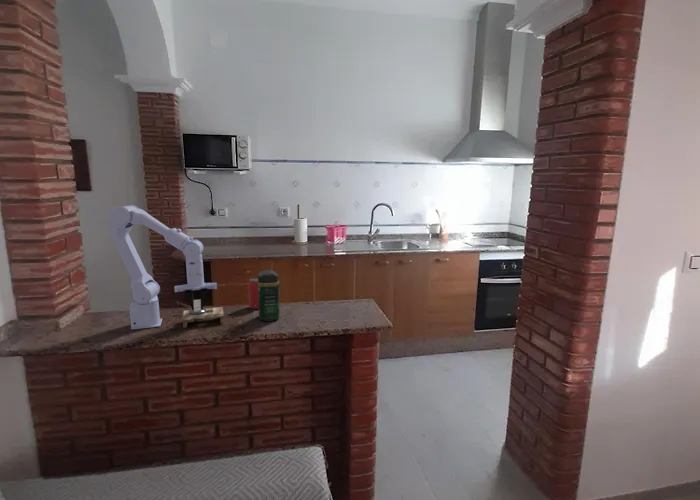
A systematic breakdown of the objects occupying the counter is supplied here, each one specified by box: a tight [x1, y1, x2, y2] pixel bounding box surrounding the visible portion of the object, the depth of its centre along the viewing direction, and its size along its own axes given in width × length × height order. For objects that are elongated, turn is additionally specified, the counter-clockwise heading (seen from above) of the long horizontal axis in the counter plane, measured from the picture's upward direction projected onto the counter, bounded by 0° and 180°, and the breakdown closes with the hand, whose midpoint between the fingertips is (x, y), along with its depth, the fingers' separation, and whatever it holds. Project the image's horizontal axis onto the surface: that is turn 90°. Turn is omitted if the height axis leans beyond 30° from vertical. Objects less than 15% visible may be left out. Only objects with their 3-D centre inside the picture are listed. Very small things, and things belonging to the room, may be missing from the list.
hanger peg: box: [189, 298, 207, 322], centre depth 146 cm, size 6×6×7 cm
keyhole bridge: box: [182, 306, 225, 329], centre depth 147 cm, size 14×8×4 cm, turn 110°
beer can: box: [247, 277, 259, 310], centre depth 164 cm, size 7×7×12 cm
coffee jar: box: [257, 269, 280, 322], centre depth 151 cm, size 10×8×19 cm
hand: (197, 308), depth 145 cm, fingers closed on hanger peg, 2 cm apart
